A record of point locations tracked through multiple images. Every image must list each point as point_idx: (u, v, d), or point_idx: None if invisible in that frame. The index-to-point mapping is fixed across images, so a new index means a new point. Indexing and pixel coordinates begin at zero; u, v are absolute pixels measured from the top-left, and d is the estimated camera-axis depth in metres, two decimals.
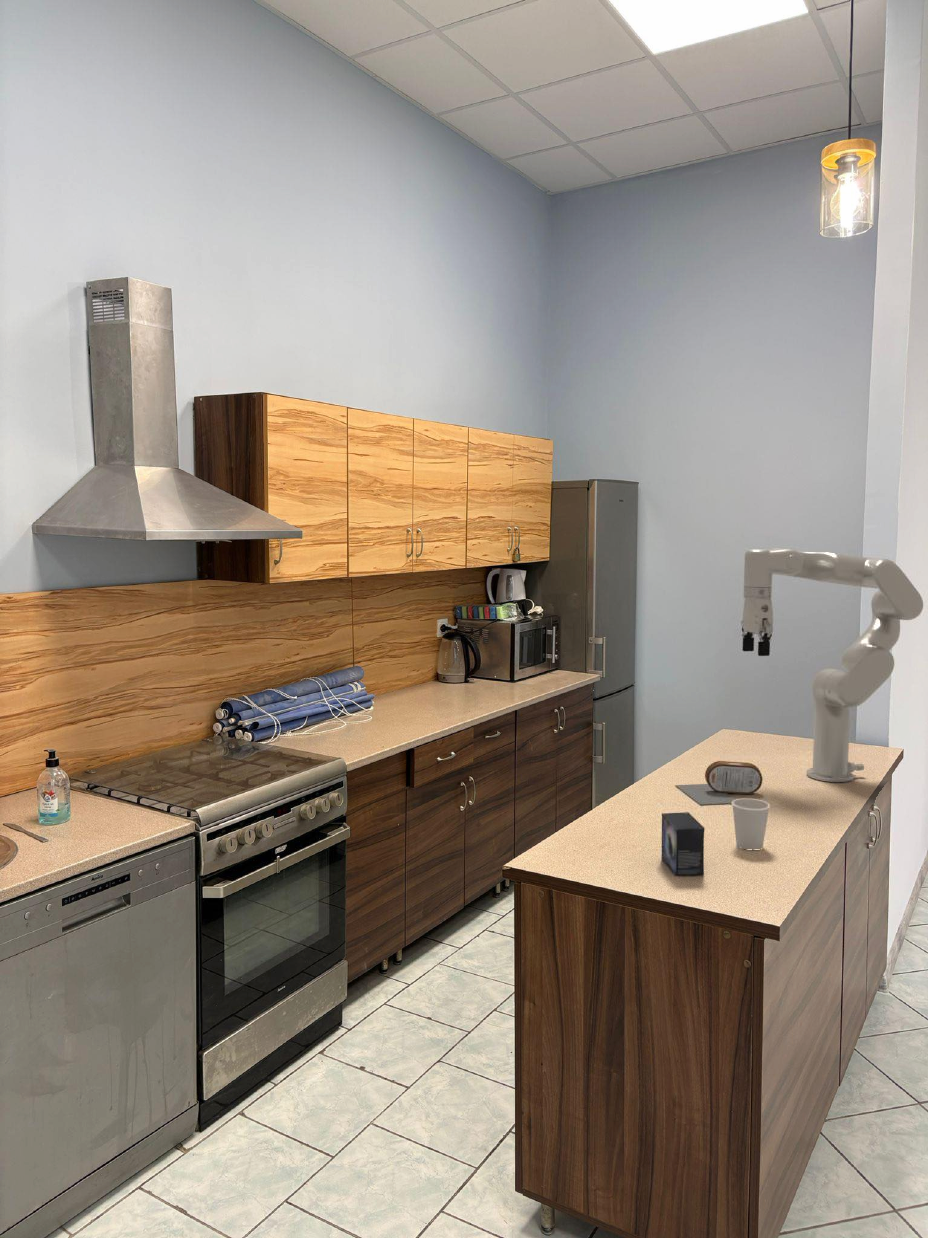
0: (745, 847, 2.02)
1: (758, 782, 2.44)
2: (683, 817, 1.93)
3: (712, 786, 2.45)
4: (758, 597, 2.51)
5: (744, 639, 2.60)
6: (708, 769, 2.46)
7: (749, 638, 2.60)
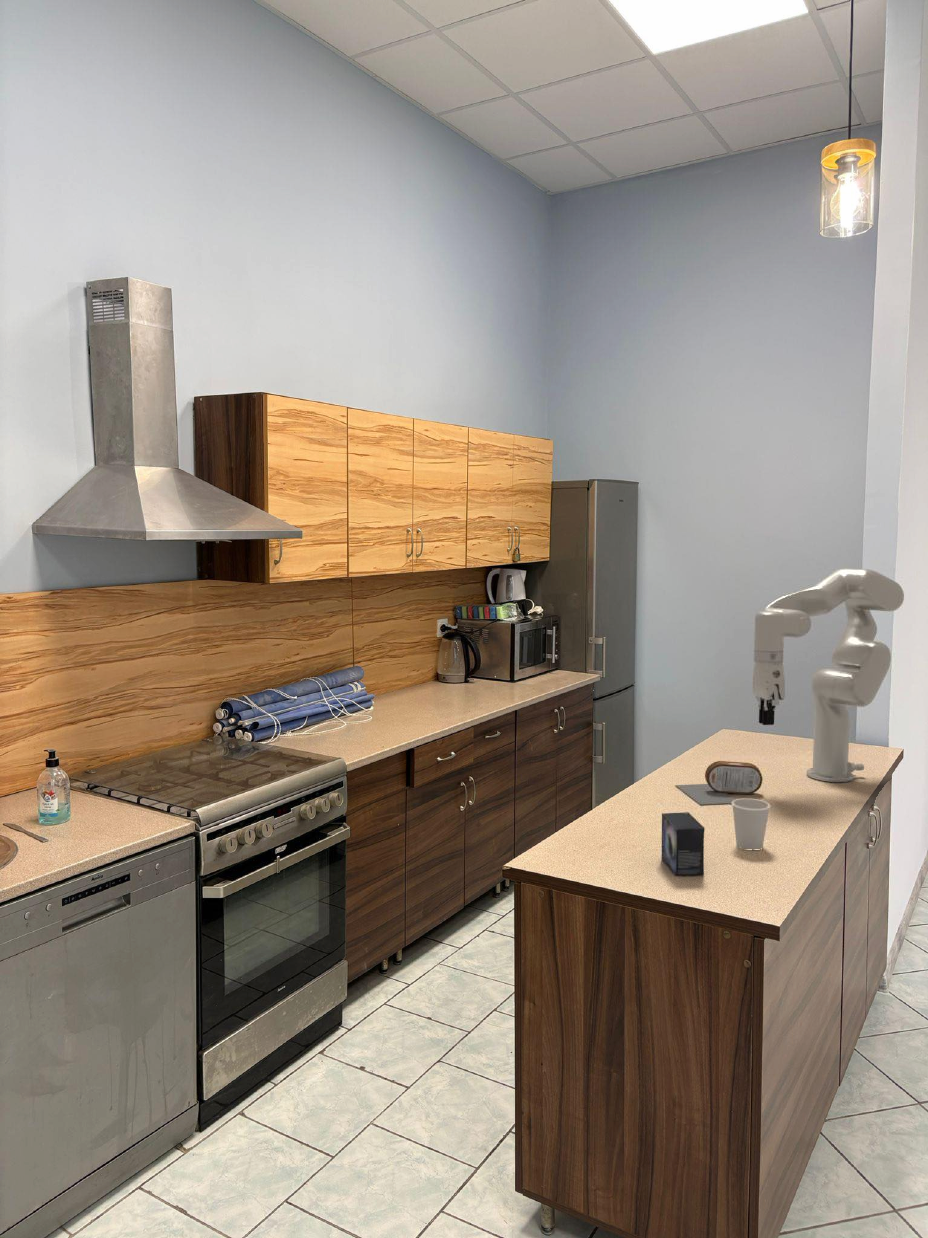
0: (745, 847, 2.02)
1: (758, 782, 2.44)
2: (683, 817, 1.93)
3: (712, 786, 2.45)
4: (769, 662, 2.40)
5: (760, 711, 2.46)
6: (708, 769, 2.46)
7: None
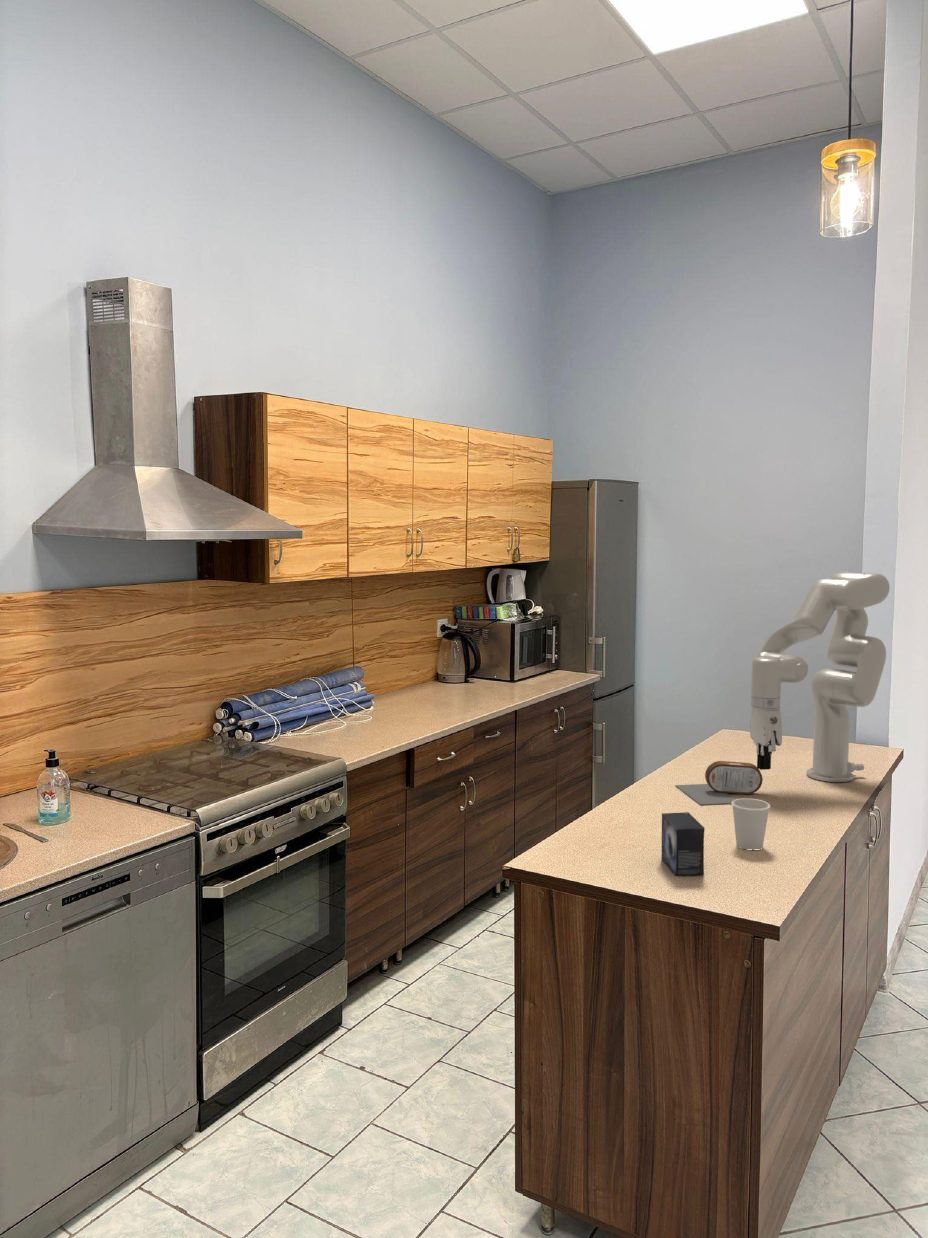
0: (745, 847, 2.02)
1: (758, 782, 2.44)
2: (683, 817, 1.93)
3: (712, 786, 2.45)
4: (766, 708, 2.41)
5: (759, 756, 2.46)
6: (708, 769, 2.46)
7: None
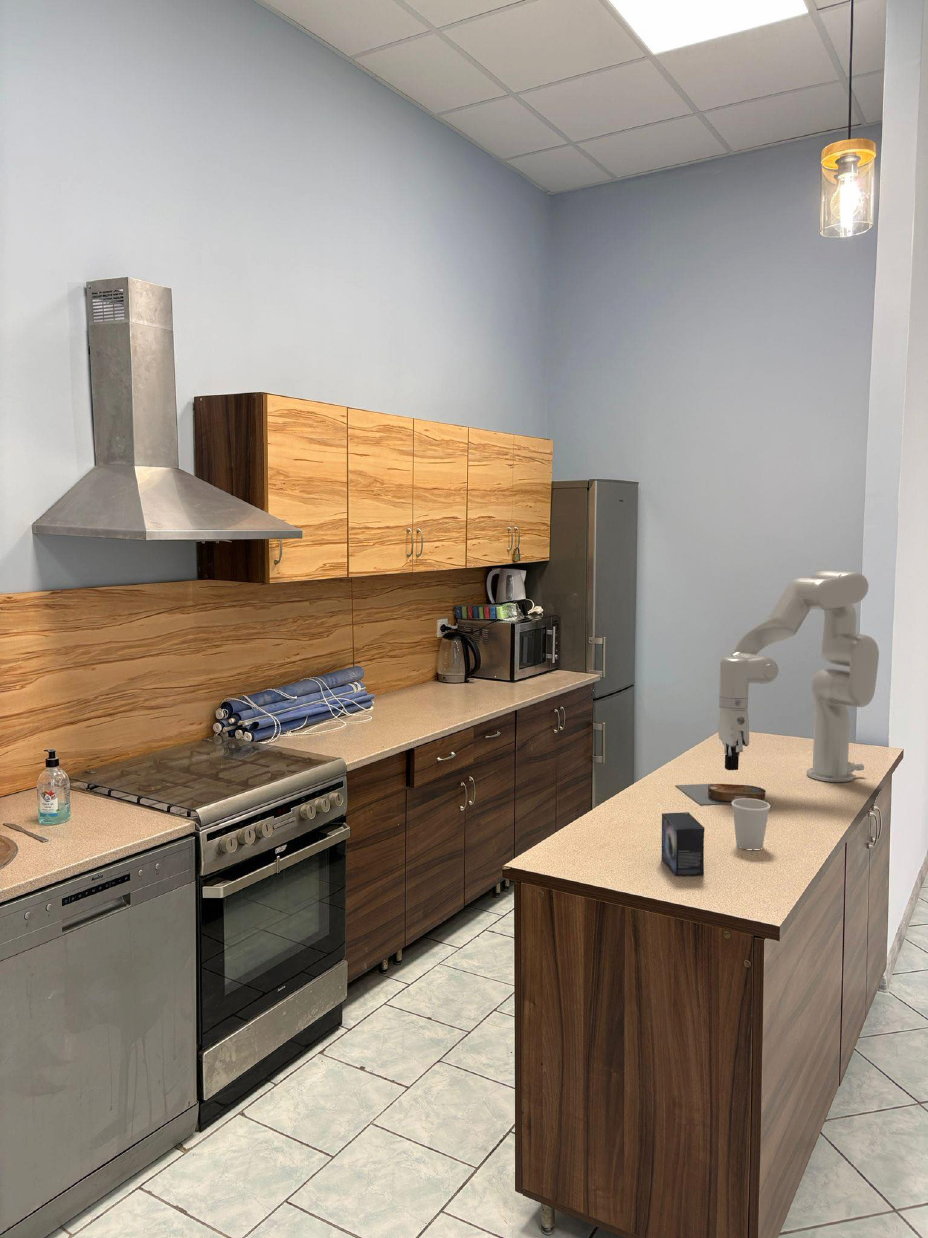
0: (745, 847, 2.02)
1: None
2: (683, 817, 1.93)
3: None
4: (734, 709, 2.40)
5: (726, 757, 2.45)
6: (711, 793, 2.39)
7: None
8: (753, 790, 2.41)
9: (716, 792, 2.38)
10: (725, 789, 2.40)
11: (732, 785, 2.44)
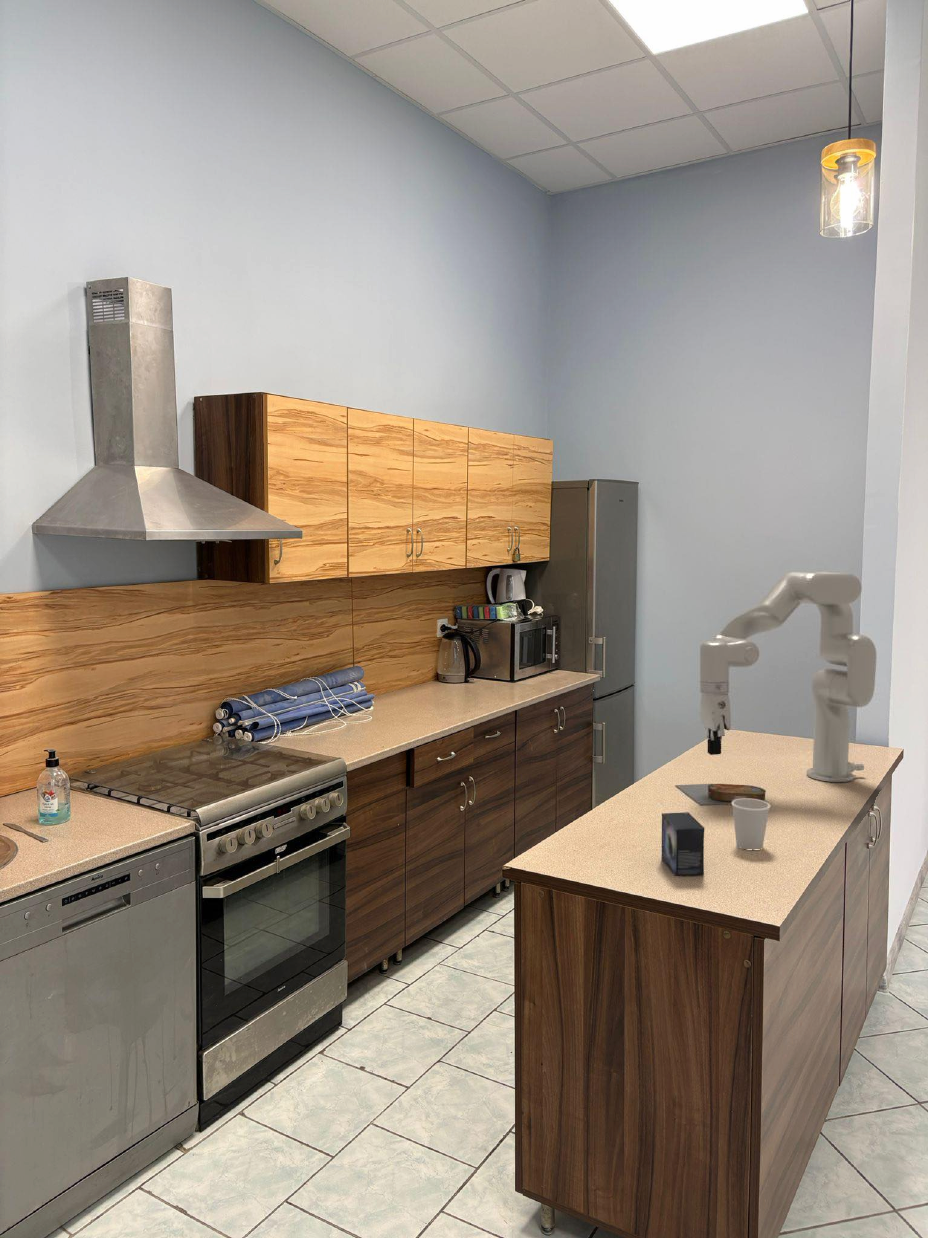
0: (745, 847, 2.02)
1: None
2: (683, 817, 1.93)
3: None
4: (714, 693, 2.39)
5: None
6: (711, 793, 2.39)
7: None
8: (753, 790, 2.41)
9: (716, 792, 2.38)
10: (725, 789, 2.40)
11: (732, 785, 2.44)
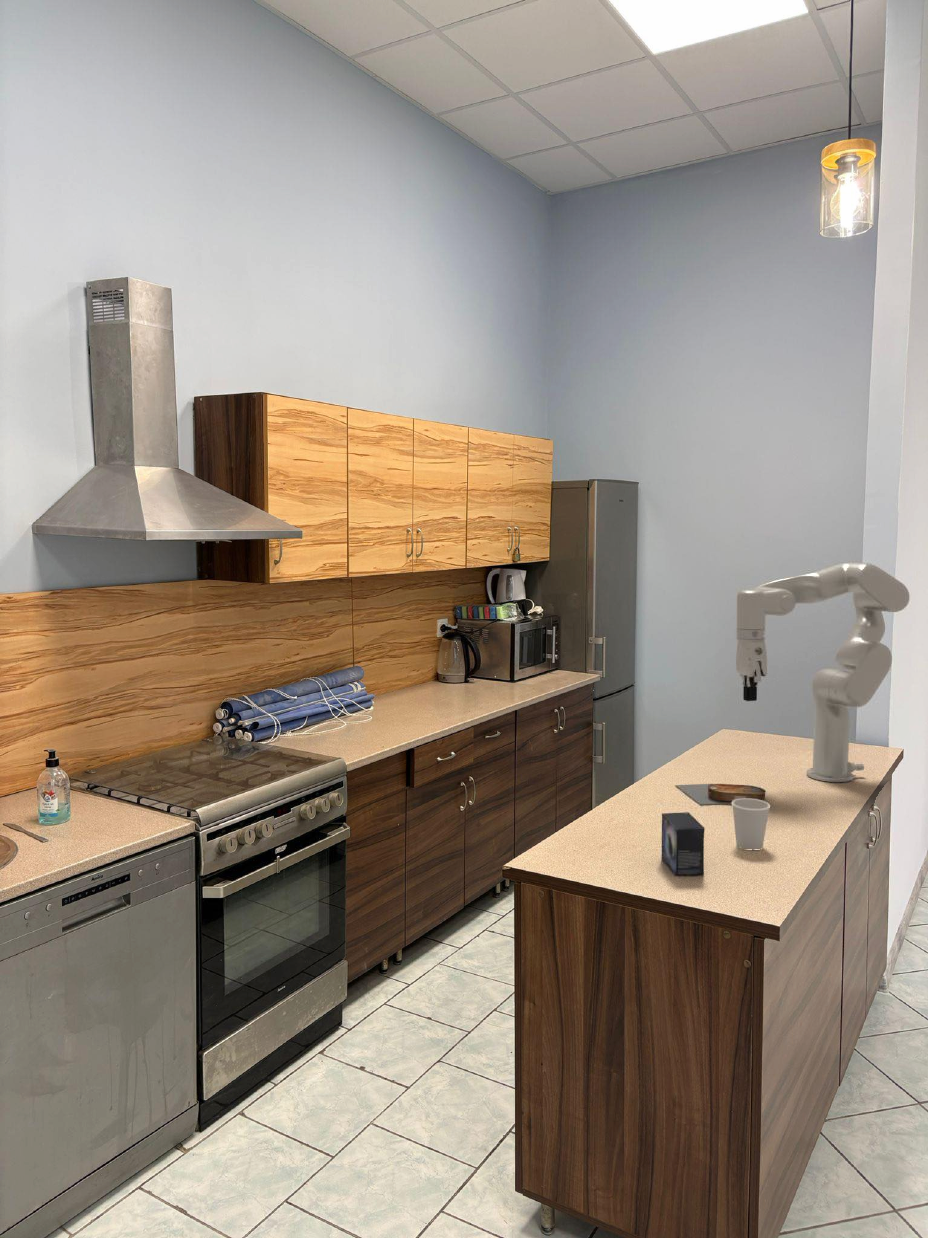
0: (745, 847, 2.02)
1: None
2: (683, 817, 1.93)
3: None
4: (751, 639, 2.45)
5: None
6: (711, 793, 2.39)
7: None
8: (753, 790, 2.41)
9: (716, 792, 2.38)
10: (725, 789, 2.40)
11: (732, 785, 2.44)
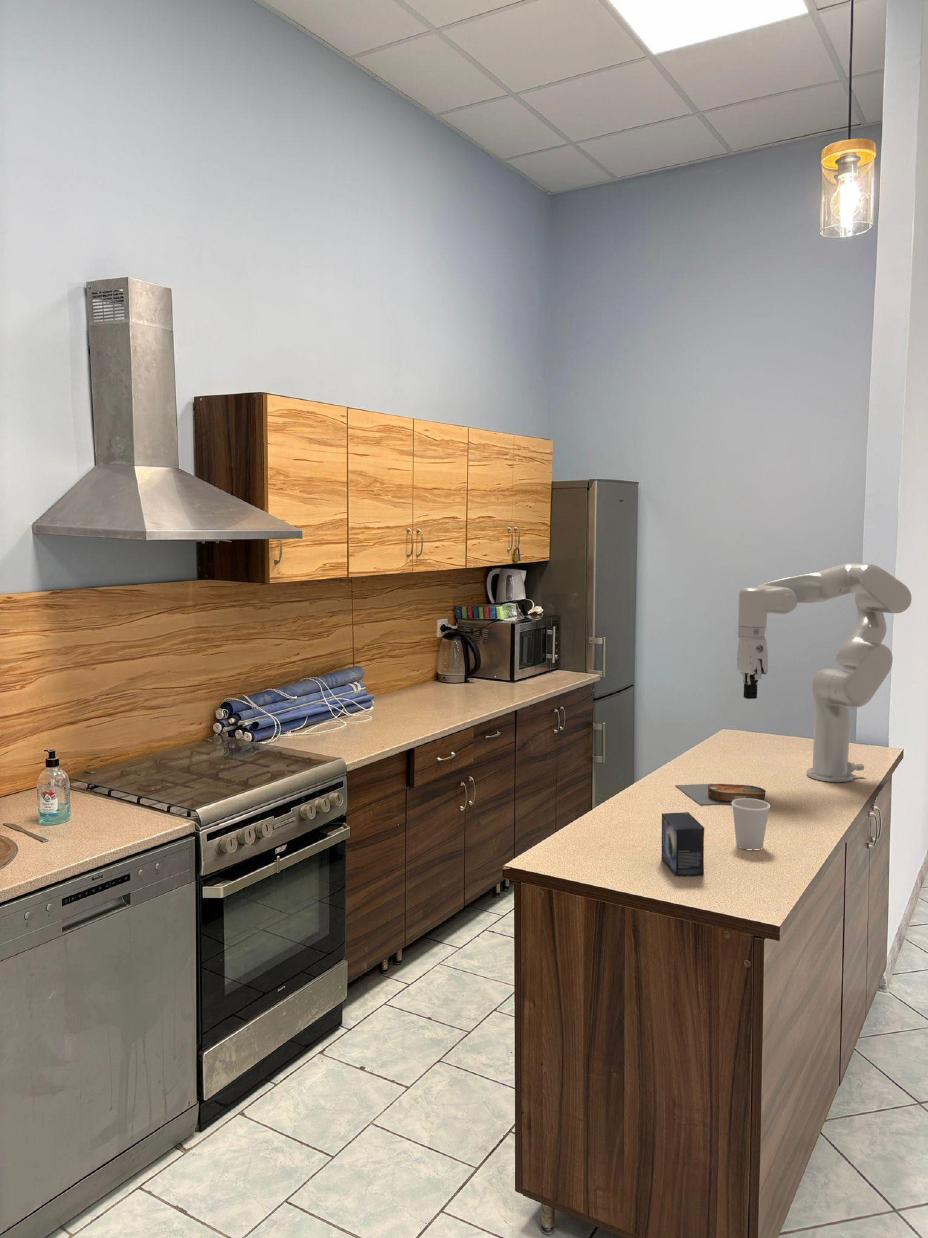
0: (745, 847, 2.02)
1: None
2: (683, 817, 1.93)
3: None
4: (753, 637, 2.45)
5: (745, 685, 2.50)
6: (711, 793, 2.39)
7: None
8: (753, 790, 2.41)
9: (716, 792, 2.38)
10: (725, 789, 2.40)
11: (732, 785, 2.44)
